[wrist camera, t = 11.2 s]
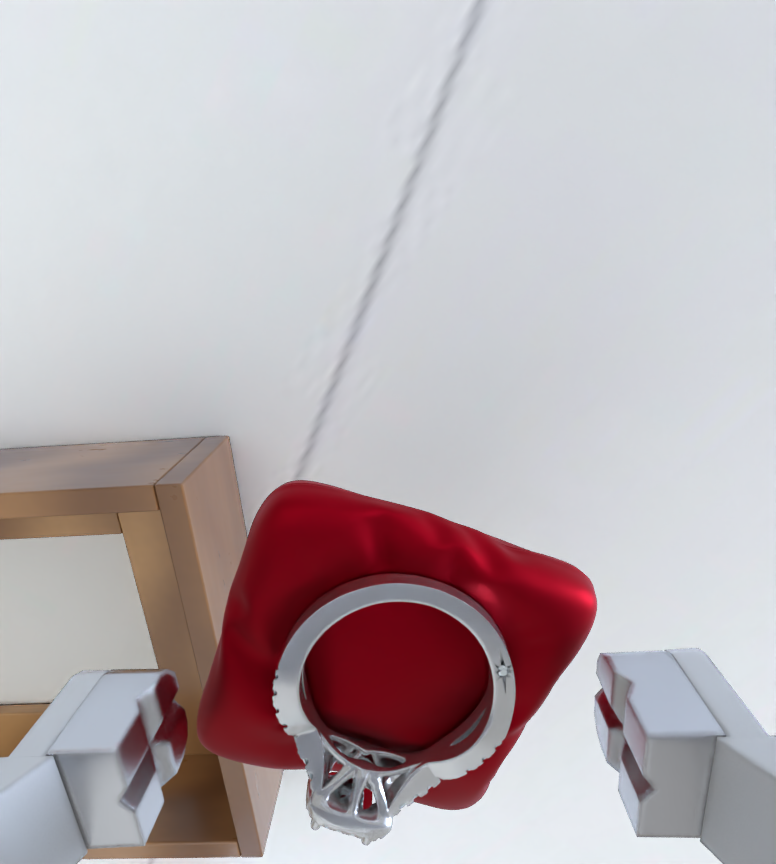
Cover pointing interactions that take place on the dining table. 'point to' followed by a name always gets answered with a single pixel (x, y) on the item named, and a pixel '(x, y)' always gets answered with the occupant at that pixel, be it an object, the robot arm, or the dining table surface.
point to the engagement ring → (384, 653)
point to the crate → (156, 606)
